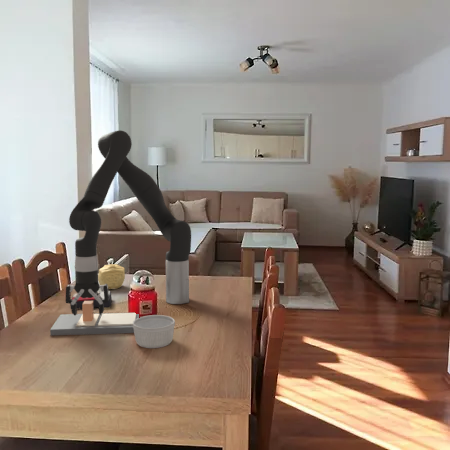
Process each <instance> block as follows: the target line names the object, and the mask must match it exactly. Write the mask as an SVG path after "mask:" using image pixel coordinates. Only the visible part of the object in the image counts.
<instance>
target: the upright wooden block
mask: <svg viewBox="0 0 450 450" xmlns="http://www.w3.org/2000/svg"><path fill="white" fill-rule="evenodd" d="M81 314H82V316H81V318H80V320H79V321H78V323H77V325H76V326H95V324H96V322H97V320H98V317H99V314H97V313H94V308H93V301H84V302H83V304H82V313H81Z"/></svg>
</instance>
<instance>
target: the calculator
mask: <svg viewBox="0 0 450 450" xmlns="http://www.w3.org/2000/svg"><path fill="white" fill-rule="evenodd" d="M98 293H99V294H100V296H101V297H102V299H104V291H101V292H100V291H98ZM108 293H109V300H108V302H106V303H104V309H105V308H111V307H112V301H113V300H112V292H111V291H110V290H108ZM77 294H78V293H77V292H76V293H73V295H72V297H71V299H72V300H73V299H74V298H75V297H76V295H77ZM84 301H93V309H94V308H99V302H98V301H97V300H96V299H95V298H94V297H92V298H82V297H79V299H78V300H77V301H76V303H77V310H79V309H82V310H83V308H82V304H83V302H84ZM69 305H70V306H69V307H70V310H72V306H71V304H69Z"/></svg>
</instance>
